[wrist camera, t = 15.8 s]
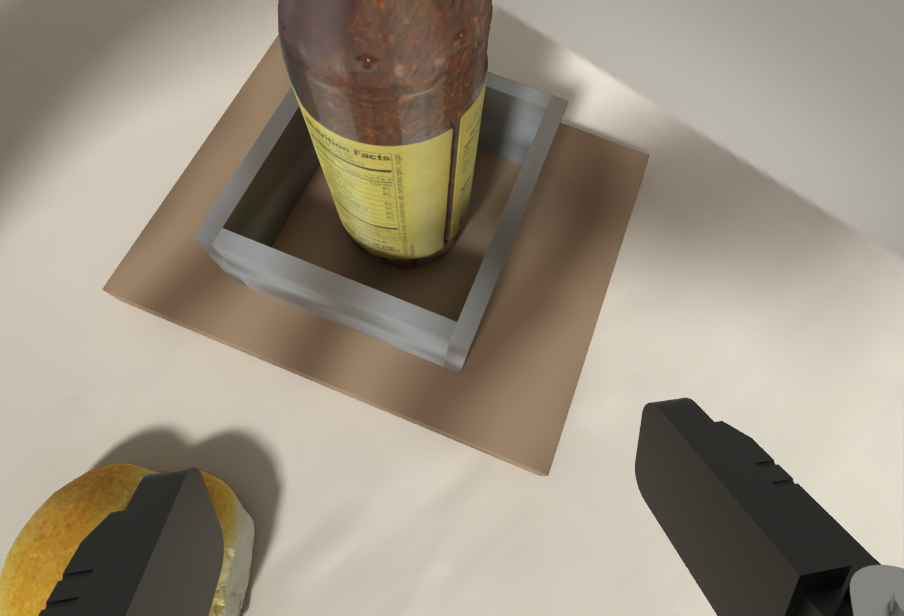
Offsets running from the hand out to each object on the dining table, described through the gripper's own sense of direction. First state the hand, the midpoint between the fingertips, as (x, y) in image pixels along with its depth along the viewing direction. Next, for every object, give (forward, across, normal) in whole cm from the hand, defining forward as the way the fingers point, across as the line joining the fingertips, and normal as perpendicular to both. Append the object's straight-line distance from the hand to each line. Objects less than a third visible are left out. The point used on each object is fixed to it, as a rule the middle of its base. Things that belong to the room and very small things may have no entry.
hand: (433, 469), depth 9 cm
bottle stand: (+19, 0, +2) cm, 19 cm away
